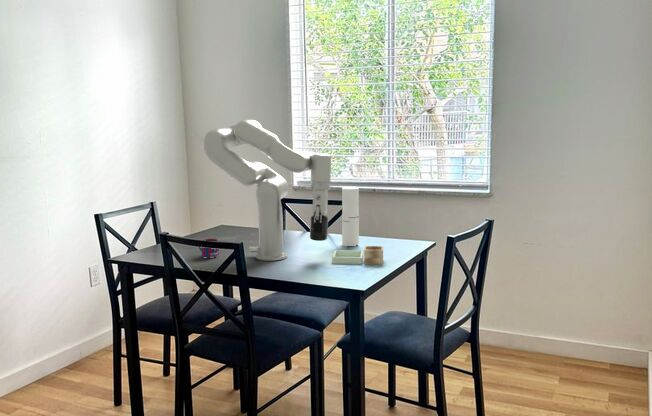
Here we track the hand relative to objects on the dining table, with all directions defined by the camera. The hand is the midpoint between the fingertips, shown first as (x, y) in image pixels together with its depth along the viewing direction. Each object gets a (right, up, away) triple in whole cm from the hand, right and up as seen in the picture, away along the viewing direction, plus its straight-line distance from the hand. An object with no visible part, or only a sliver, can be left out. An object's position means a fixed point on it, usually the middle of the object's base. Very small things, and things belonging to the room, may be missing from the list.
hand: (318, 230), depth 238 cm
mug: (-45, -11, +10) cm, 47 cm away
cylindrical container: (+13, -7, +28) cm, 32 cm away
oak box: (+21, -12, -3) cm, 25 cm away
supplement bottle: (0, -3, +1) cm, 4 cm away
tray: (+11, -12, 0) cm, 17 cm away
